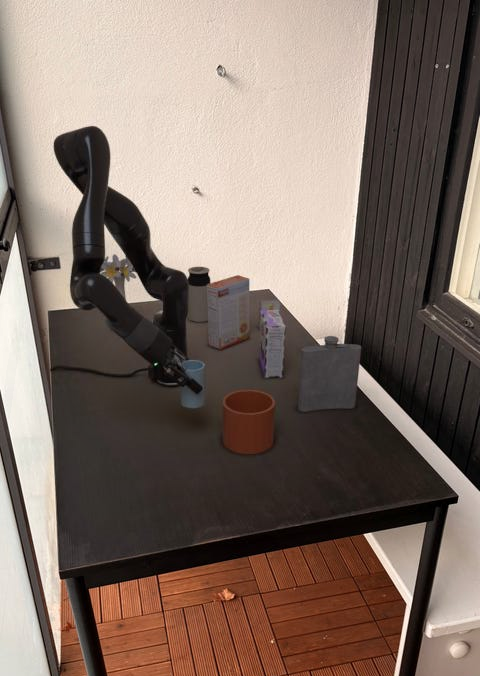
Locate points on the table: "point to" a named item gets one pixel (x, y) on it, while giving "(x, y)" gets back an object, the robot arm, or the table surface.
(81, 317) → the table surface
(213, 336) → the cracker box
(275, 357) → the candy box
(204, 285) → the travel mug
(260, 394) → the flower pot
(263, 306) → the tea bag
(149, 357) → the robot arm
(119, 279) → the flower vase
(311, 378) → the hip flask
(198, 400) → the enamel cup
